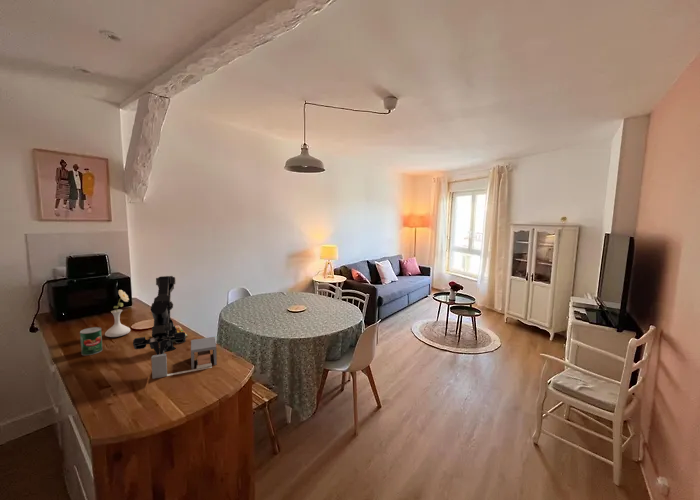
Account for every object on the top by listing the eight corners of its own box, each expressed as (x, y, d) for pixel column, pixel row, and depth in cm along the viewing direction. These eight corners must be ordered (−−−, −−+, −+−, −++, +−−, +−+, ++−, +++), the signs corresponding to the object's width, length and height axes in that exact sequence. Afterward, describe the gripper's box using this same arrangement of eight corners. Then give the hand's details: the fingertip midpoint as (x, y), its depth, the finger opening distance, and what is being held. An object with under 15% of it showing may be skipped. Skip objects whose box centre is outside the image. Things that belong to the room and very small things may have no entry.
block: (197, 362, 136) (197, 351, 135) (210, 359, 138) (209, 349, 138) (197, 366, 132) (197, 356, 131) (210, 364, 134) (210, 354, 133)
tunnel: (191, 359, 140) (191, 340, 139) (215, 355, 145) (214, 336, 144) (191, 371, 130) (190, 350, 129) (216, 367, 134) (216, 346, 133)
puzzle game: (178, 323, 174) (187, 333, 160) (178, 331, 175) (187, 342, 160) (154, 328, 167) (162, 339, 152) (155, 336, 167) (162, 348, 152)
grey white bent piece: (155, 370, 129) (154, 348, 128) (211, 360, 139) (210, 340, 138) (152, 381, 121) (151, 357, 120) (212, 369, 131) (211, 348, 130)
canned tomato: (90, 356, 141) (88, 333, 140) (76, 354, 143) (75, 332, 142) (106, 349, 149) (105, 327, 148) (94, 347, 151) (92, 326, 149)
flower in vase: (120, 339, 161) (117, 294, 158) (99, 338, 161) (96, 293, 158) (137, 330, 174) (135, 288, 171) (118, 329, 174) (115, 287, 171)
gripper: (132, 319, 123) (128, 356, 114) (184, 313, 131) (184, 347, 122) (136, 331, 130) (133, 367, 122) (185, 325, 139) (185, 358, 130)
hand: (159, 359), depth 124 cm, fingers closed
